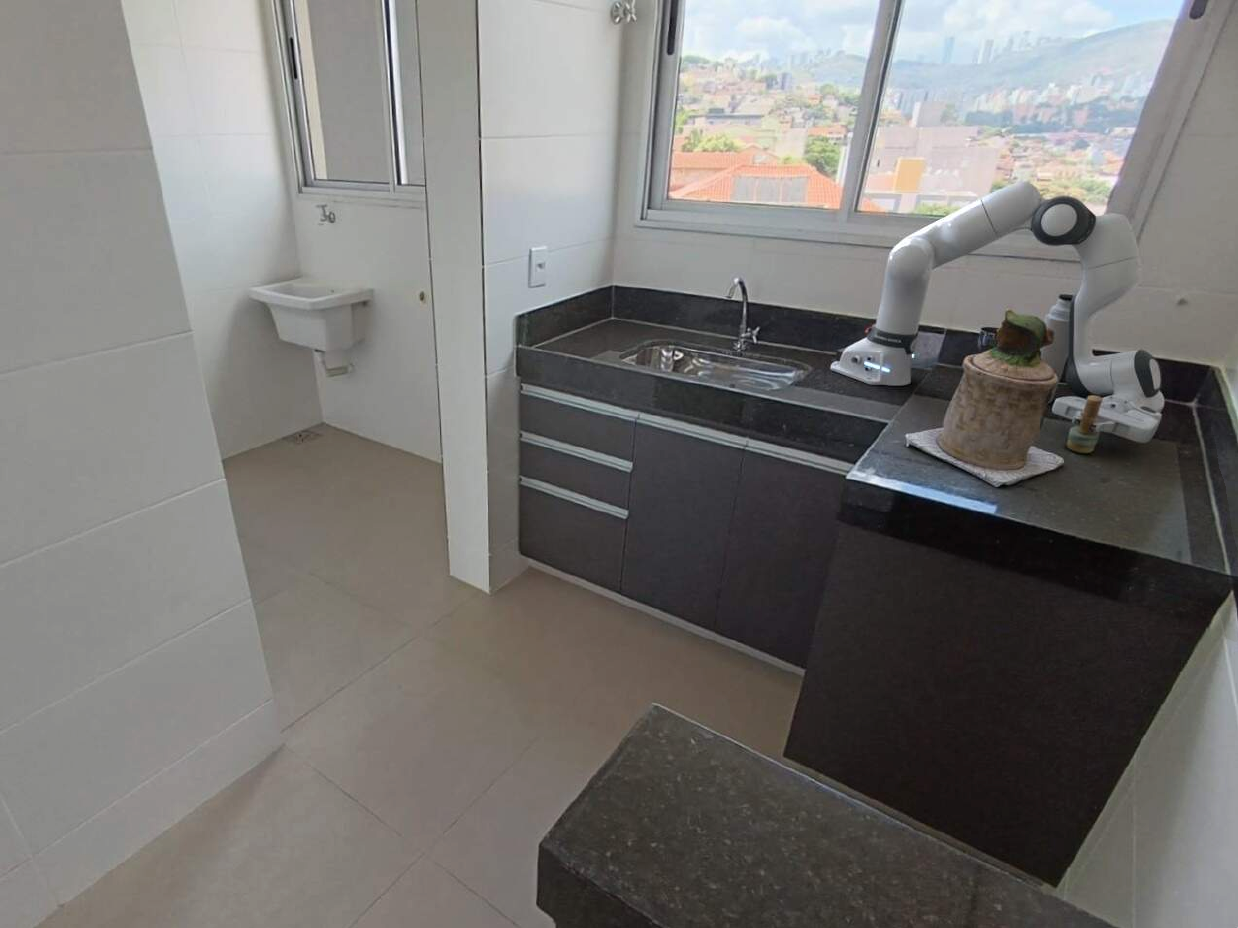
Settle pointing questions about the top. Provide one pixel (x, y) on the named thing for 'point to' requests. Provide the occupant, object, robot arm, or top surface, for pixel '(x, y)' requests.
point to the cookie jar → (999, 408)
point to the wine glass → (987, 339)
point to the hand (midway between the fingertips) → (1085, 424)
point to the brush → (1085, 427)
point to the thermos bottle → (1058, 337)
